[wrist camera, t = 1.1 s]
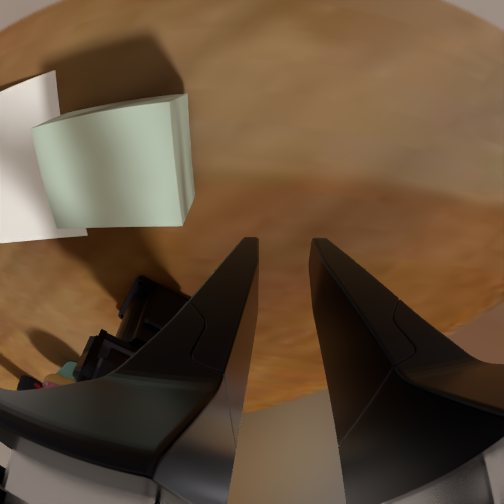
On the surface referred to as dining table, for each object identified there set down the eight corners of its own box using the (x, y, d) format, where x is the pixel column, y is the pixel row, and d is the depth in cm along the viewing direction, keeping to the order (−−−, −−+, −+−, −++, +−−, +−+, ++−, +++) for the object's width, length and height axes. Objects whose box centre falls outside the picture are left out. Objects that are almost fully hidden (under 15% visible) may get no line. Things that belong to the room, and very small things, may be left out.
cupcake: (99, 391, 40) (80, 456, 30) (52, 366, 37) (27, 430, 27) (111, 372, 36) (88, 450, 26) (57, 343, 33) (25, 418, 23)
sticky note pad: (189, 92, 17) (169, 101, 13) (196, 191, 21) (182, 226, 17) (70, 111, 17) (31, 128, 13) (87, 197, 21) (57, 228, 17)
